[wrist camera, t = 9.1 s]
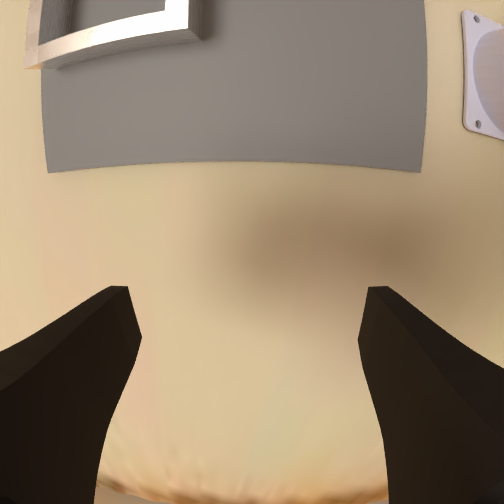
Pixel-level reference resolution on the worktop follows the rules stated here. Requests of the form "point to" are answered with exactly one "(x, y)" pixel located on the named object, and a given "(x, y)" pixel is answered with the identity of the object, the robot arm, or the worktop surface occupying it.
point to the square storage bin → (104, 33)
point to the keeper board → (248, 88)
